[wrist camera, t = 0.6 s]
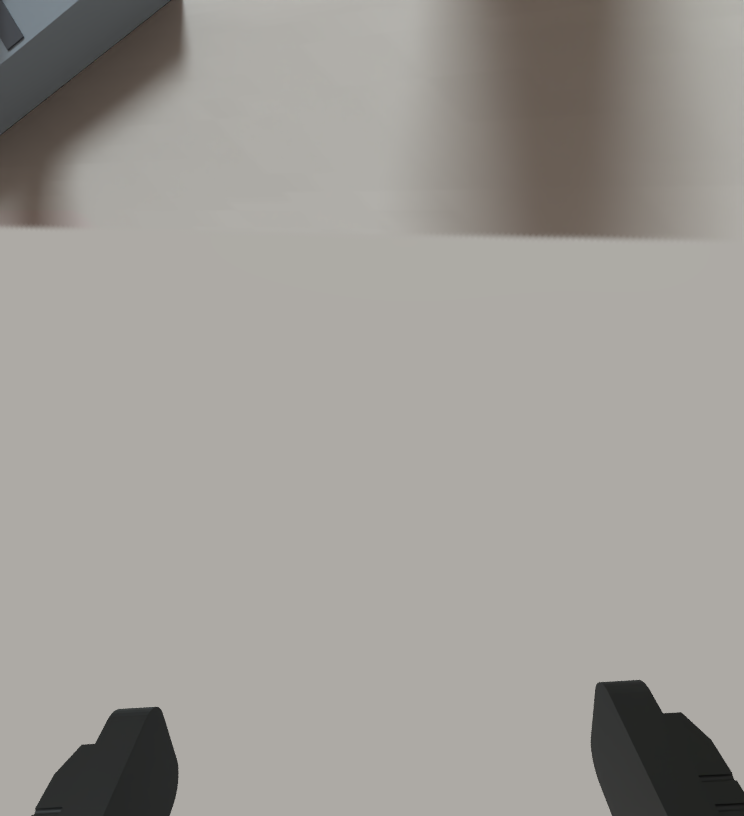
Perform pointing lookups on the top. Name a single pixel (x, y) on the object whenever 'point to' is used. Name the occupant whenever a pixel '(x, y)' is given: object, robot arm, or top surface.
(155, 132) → the top surface
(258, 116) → the top surface
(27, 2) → the switch box
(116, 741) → the robot arm
